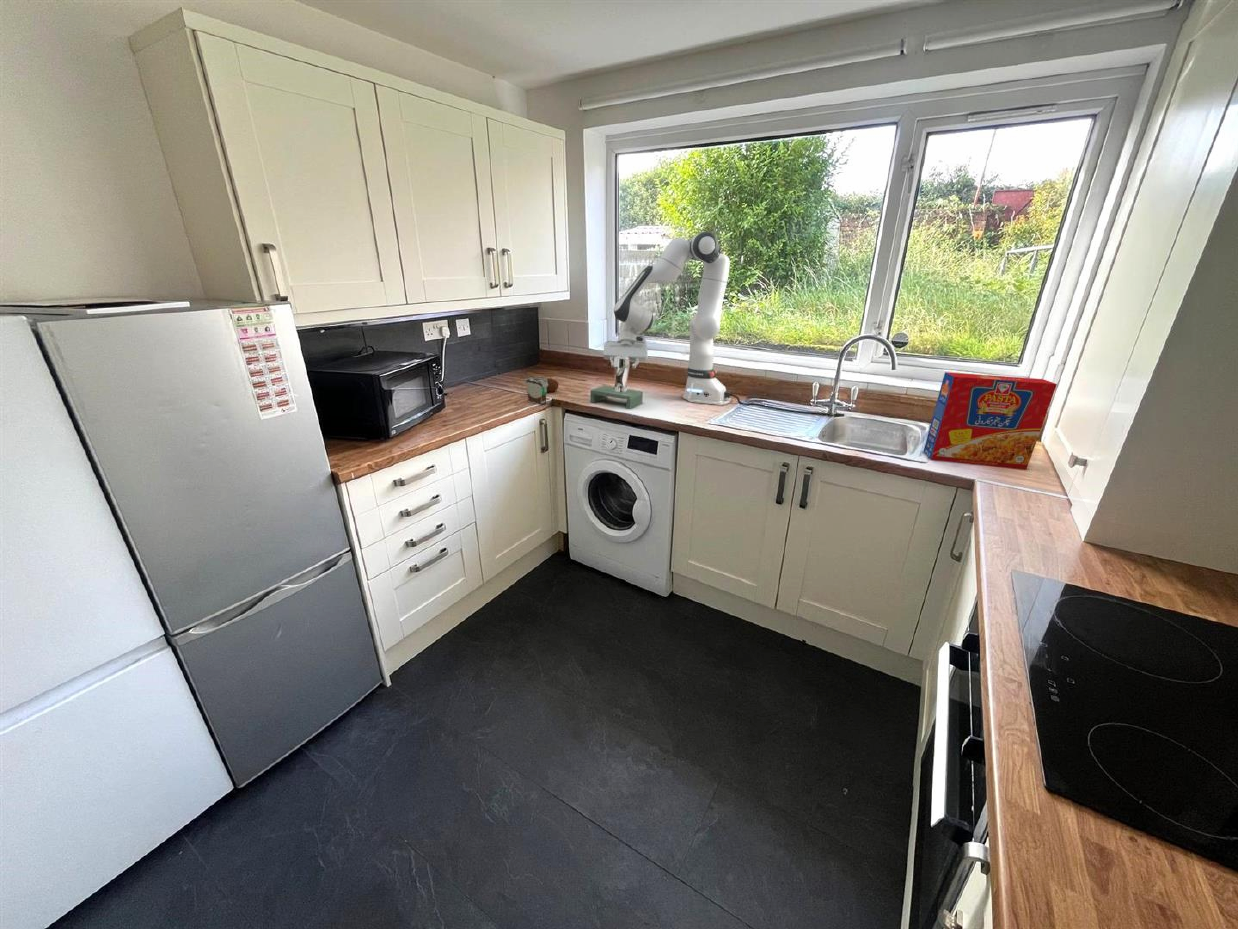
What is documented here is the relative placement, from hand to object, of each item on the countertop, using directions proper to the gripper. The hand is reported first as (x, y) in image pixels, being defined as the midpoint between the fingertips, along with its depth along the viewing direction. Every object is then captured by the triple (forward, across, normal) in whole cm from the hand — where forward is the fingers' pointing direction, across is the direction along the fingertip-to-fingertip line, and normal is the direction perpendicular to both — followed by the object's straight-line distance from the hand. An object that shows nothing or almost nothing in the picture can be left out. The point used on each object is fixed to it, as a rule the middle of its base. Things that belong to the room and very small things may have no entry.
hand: (623, 367), depth 221 cm
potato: (+5, -36, +17) cm, 40 cm away
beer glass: (+11, 0, +4) cm, 11 cm away
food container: (+20, -35, +2) cm, 40 cm away
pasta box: (+44, +126, -22) cm, 135 cm away
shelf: (+14, -2, +8) cm, 16 cm away
